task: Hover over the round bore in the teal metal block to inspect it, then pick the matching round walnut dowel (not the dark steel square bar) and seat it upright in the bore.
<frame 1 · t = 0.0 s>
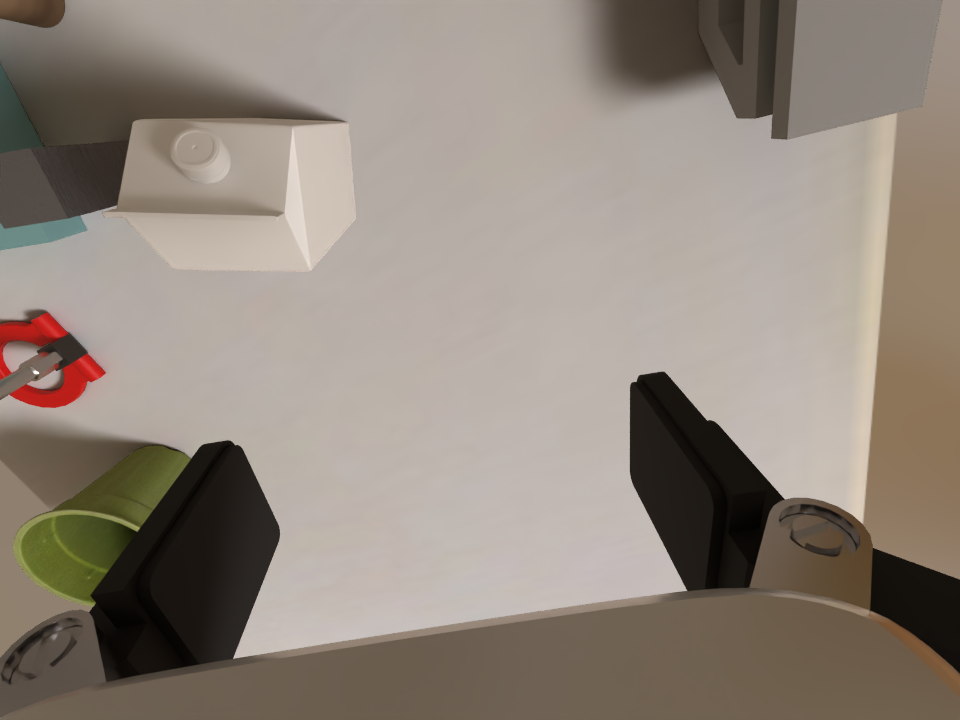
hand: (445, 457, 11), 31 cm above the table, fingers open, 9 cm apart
milk carton: (307, 170, 37), on the table
steel square bar: (143, 168, 36), on the table
plant pot: (167, 471, 49), on the table
tow hook: (44, 360, 43), on the table
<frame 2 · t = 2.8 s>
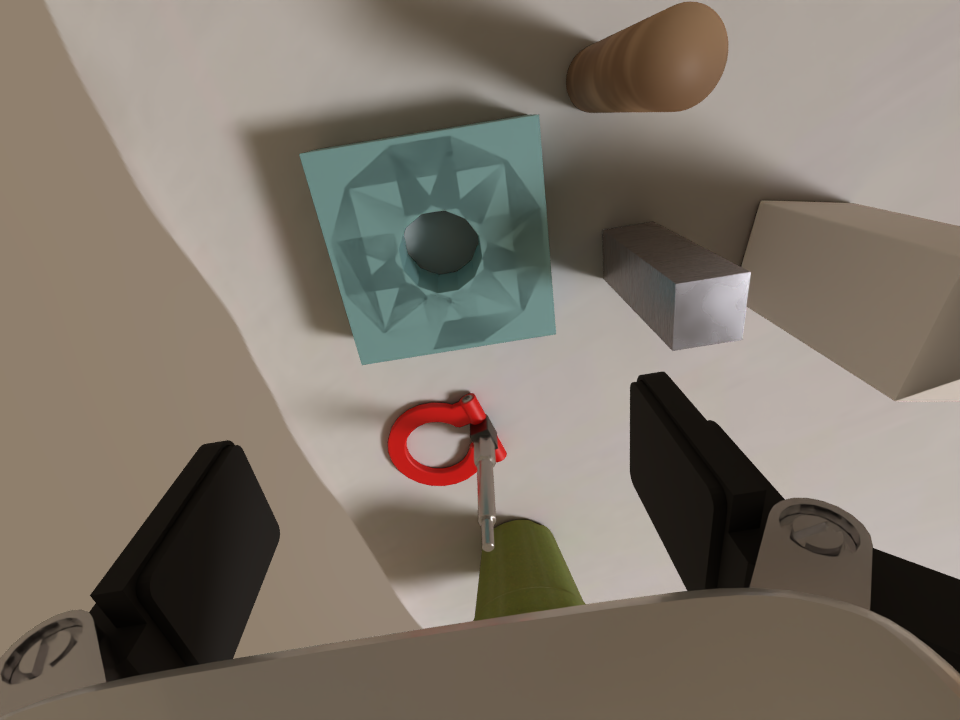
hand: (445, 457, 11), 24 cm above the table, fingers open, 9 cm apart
milk carton: (787, 250, 35), on the table
steel square bar: (627, 250, 34), on the table
walnut dowel: (595, 79, 29), on the table
plant pot: (517, 543, 47), on the table
bore block: (441, 238, 33), on the table
tow hook: (442, 438, 41), on the table
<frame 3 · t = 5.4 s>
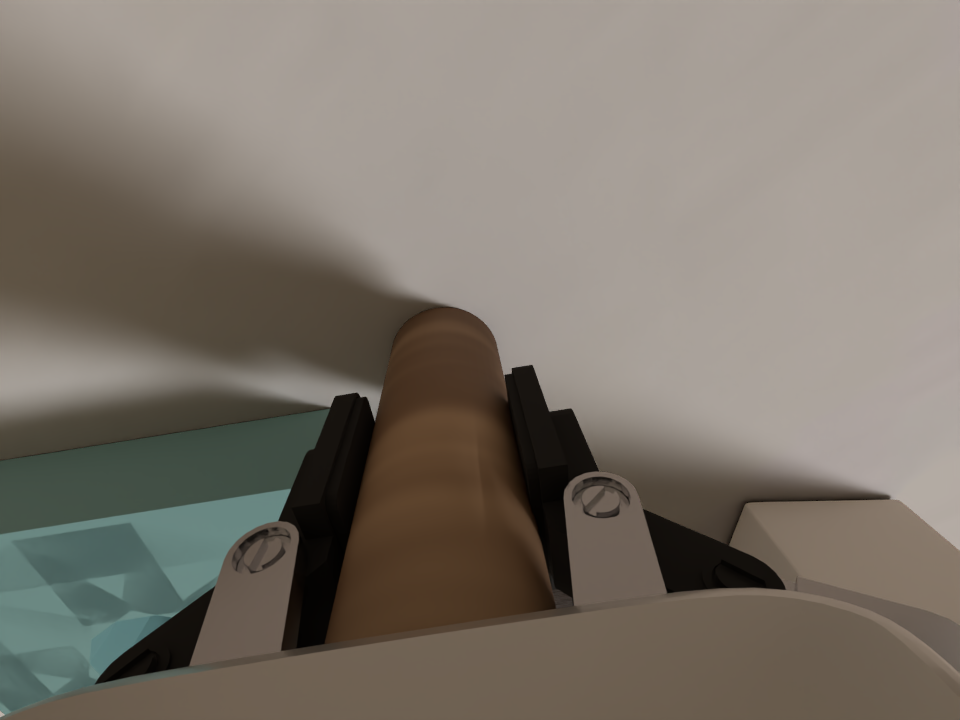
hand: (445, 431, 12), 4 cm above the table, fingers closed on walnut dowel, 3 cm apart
milk carton: (790, 552, 22), on the table
walnut dowel: (445, 357, 16), on the table, touching gripper
bore block: (220, 565, 20), on the table
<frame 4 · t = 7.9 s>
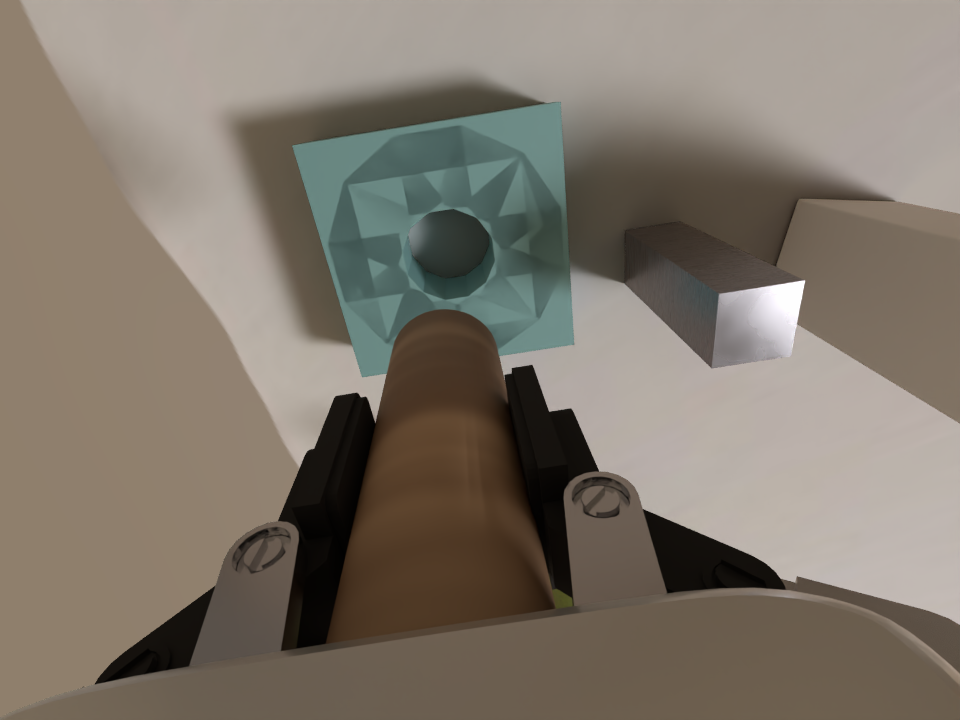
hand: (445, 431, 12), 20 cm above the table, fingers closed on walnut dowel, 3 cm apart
milk carton: (825, 253, 32), on the table
steel square bar: (651, 253, 31), on the table
walnut dowel: (445, 358, 16), point 16 cm above the table, touching gripper
bore block: (449, 239, 30), on the table
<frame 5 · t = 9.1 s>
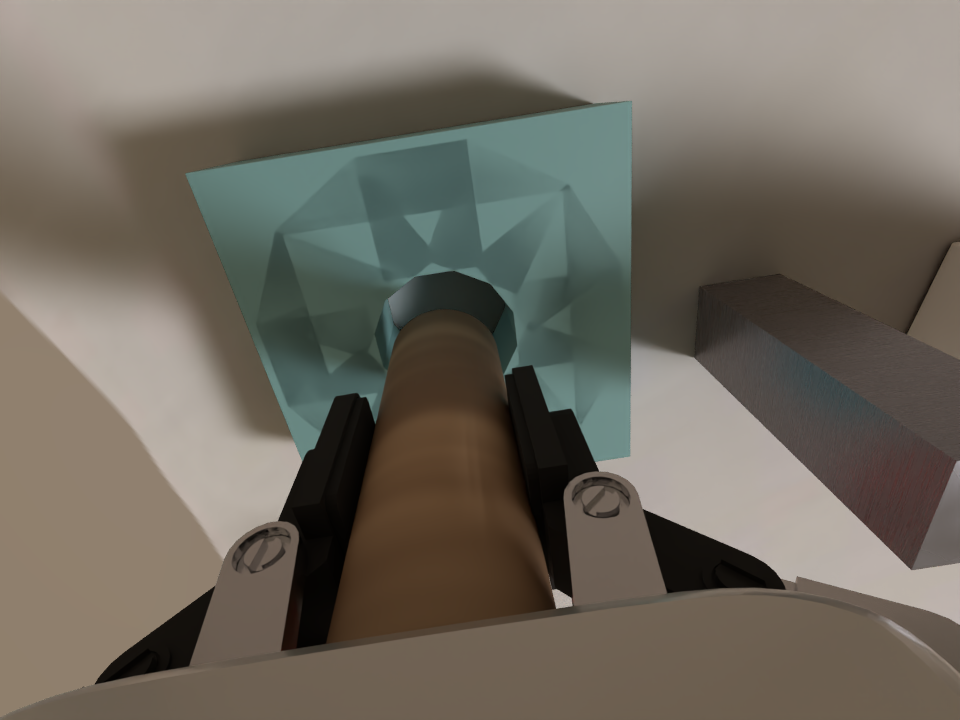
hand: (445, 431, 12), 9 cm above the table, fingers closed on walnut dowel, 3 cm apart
steel square bar: (735, 317, 22), on the table
walnut dowel: (445, 358, 16), point 5 cm above the table, touching gripper
bore block: (446, 301, 21), on the table
when the fingers open (5 cm above the table, at t = 10.2 s): walnut dowel stays where it is, resting in bore block.
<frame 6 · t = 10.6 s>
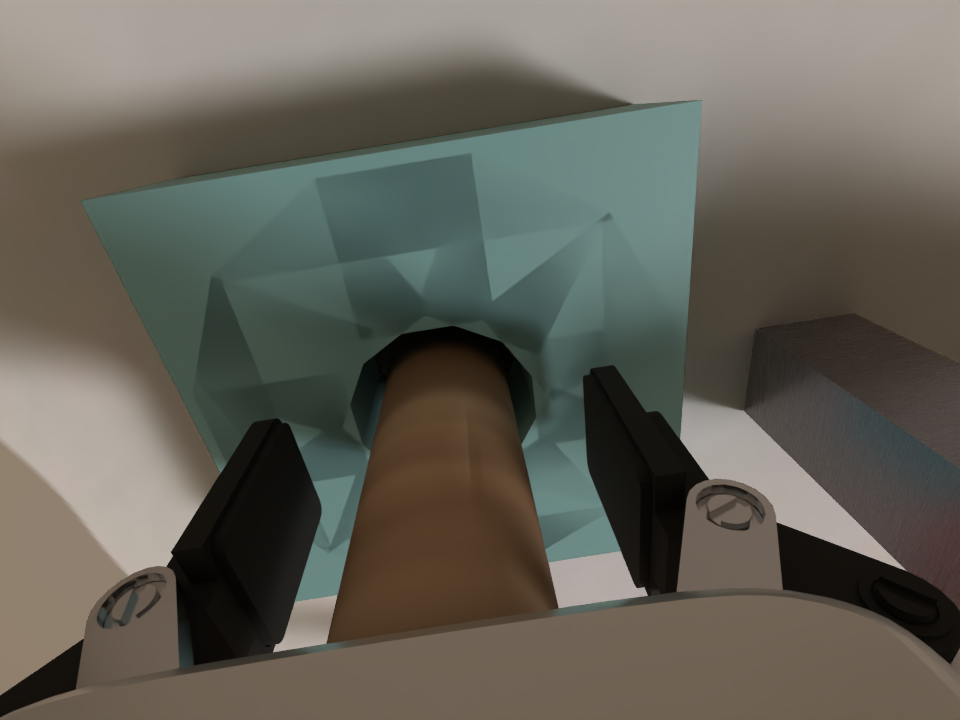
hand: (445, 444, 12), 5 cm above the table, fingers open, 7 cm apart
steel square bar: (796, 364, 18), on the table
walnut dowel: (447, 348, 17), resting in bore block
bore block: (445, 348, 17), on the table
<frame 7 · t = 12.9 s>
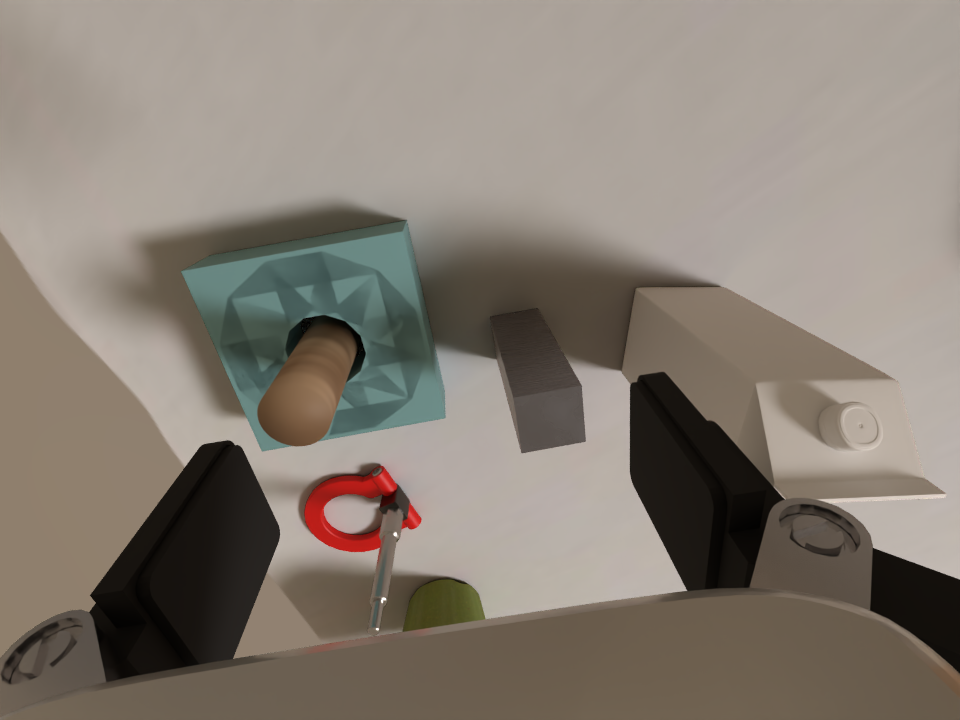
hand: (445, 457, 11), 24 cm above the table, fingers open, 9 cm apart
milk carton: (669, 329, 37), on the table
steel square bar: (516, 334, 36), on the table
walnut dowel: (338, 328, 35), resting in bore block
plant pot: (444, 600, 49), on the table
bore block: (337, 329, 35), on the table
tow hook: (359, 507, 43), on the table
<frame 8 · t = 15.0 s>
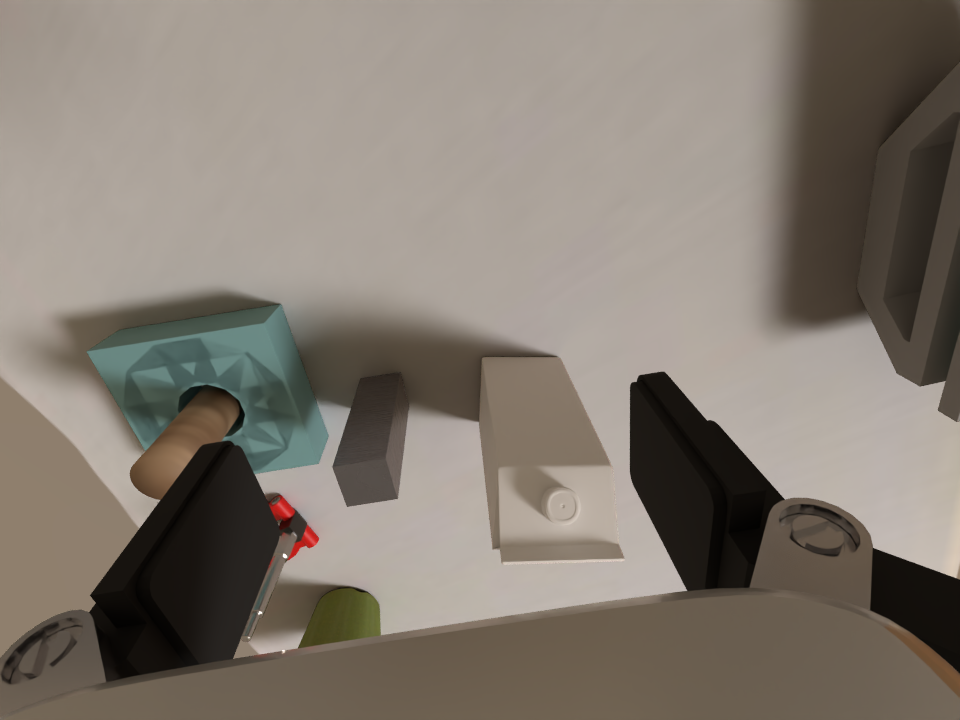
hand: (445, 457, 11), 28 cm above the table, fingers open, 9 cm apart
milk carton: (518, 389, 44), on the table
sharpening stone: (912, 211, 39), on the table
steel square bar: (385, 392, 43), on the table
walnut dowel: (232, 386, 42), resting in bore block
plant pot: (349, 605, 56), on the table
bore block: (231, 386, 42), on the table
tow hook: (266, 527, 50), on the table
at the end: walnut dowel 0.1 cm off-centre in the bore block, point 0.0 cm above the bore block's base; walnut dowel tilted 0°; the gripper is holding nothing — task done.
